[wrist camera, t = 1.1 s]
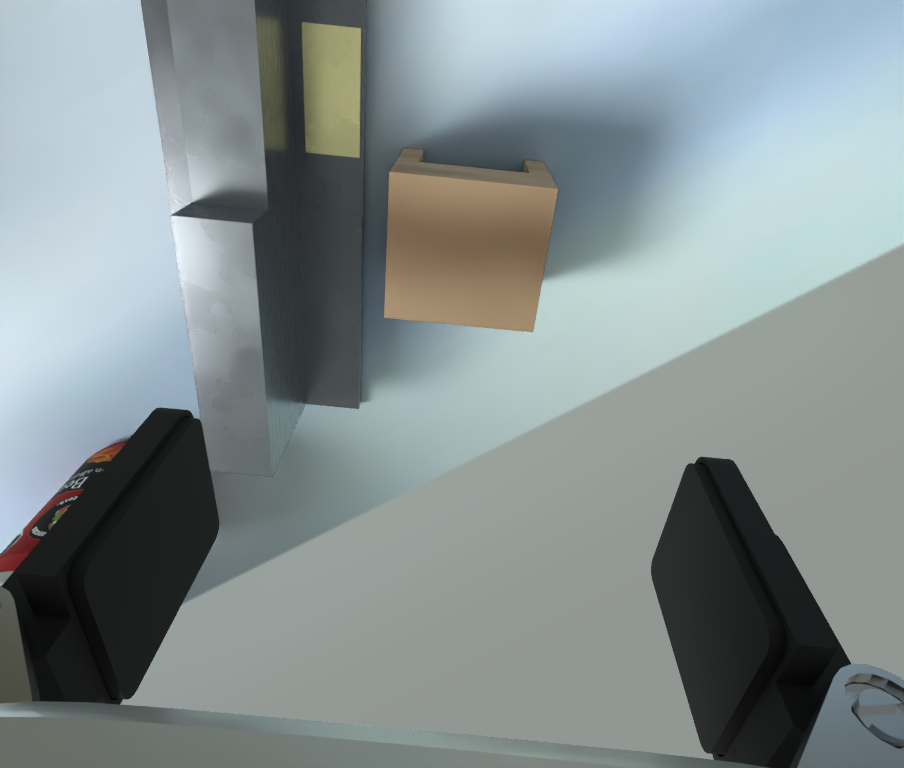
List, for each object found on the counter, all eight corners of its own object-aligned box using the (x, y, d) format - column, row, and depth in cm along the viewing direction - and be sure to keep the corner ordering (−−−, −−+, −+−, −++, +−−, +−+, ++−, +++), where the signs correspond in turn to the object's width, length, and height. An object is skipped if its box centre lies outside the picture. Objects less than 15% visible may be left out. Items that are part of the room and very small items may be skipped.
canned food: (194, 439, 36) (93, 585, 26) (218, 536, 40) (139, 692, 31) (68, 435, 36) (-76, 578, 27) (105, 532, 40) (-8, 686, 31)
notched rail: (360, 403, 34) (336, 482, 28) (203, 388, 34) (144, 465, 28) (368, -127, 22) (328, -186, 16) (125, -154, 22) (-6, -223, 16)
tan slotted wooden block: (524, 285, 30) (533, 332, 26) (398, 273, 30) (383, 317, 25) (544, 161, 27) (558, 188, 23) (404, 147, 27) (389, 171, 22)
